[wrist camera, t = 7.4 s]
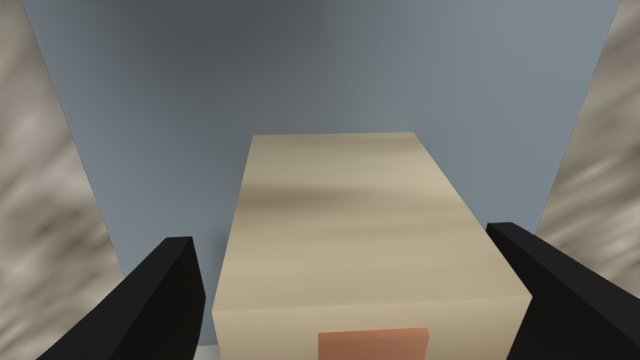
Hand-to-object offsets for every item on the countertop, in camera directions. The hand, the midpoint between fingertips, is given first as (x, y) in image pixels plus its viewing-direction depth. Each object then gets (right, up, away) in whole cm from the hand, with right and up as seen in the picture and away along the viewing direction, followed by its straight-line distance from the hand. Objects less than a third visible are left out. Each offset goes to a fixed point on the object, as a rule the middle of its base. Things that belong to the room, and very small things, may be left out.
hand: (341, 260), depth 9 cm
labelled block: (0, +1, +2) cm, 3 cm away
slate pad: (0, +2, +3) cm, 3 cm away
